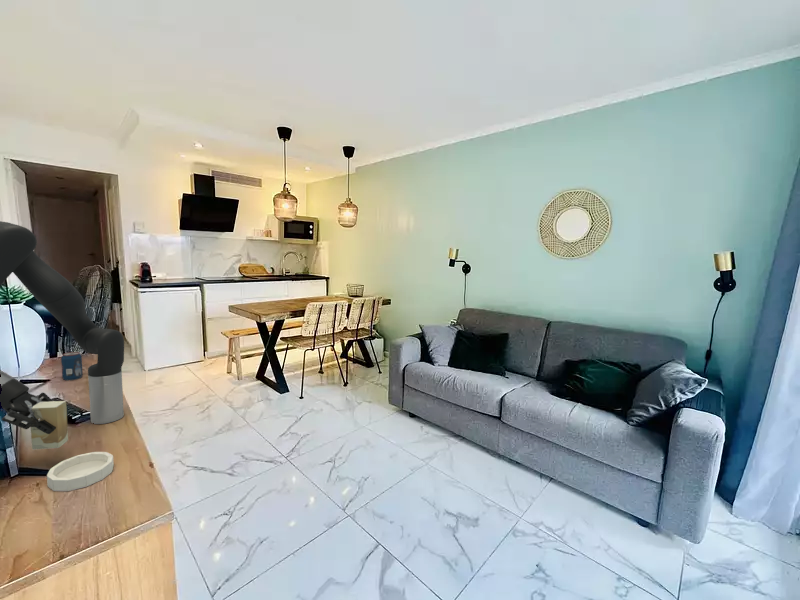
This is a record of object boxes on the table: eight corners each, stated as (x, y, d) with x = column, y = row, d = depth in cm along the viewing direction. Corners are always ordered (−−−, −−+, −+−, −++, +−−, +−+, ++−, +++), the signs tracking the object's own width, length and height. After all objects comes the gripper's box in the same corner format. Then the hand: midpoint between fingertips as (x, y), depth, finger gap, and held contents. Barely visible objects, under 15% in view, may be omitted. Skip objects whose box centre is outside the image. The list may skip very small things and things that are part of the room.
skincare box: (31, 450, 96) (27, 408, 94) (42, 442, 100) (38, 401, 98) (60, 448, 97) (56, 406, 96) (70, 439, 102) (66, 400, 100)
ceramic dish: (39, 480, 93) (38, 470, 92) (98, 456, 104) (98, 447, 104) (62, 497, 87) (61, 486, 87) (122, 470, 99) (122, 460, 98)
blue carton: (66, 376, 165) (64, 352, 164) (85, 375, 168) (83, 351, 167) (59, 381, 159) (57, 356, 158) (79, 380, 162) (77, 355, 161)
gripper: (-12, 388, 87) (54, 429, 92) (28, 369, 100) (83, 406, 106) (-38, 411, 86) (30, 450, 91) (6, 389, 99) (62, 424, 105)
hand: (58, 426), depth 99 cm, fingers closed on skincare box, 4 cm apart
